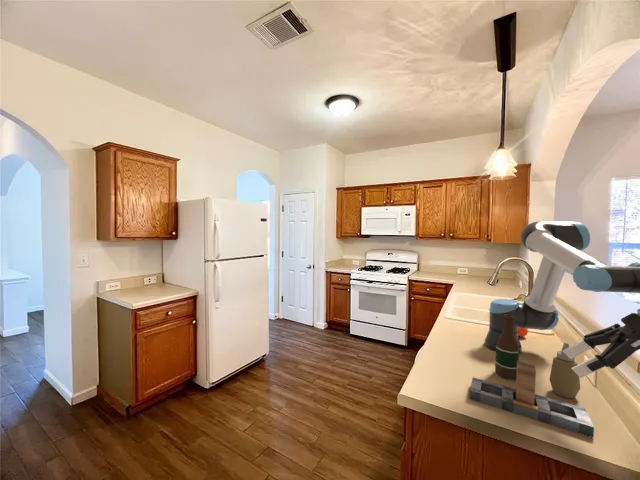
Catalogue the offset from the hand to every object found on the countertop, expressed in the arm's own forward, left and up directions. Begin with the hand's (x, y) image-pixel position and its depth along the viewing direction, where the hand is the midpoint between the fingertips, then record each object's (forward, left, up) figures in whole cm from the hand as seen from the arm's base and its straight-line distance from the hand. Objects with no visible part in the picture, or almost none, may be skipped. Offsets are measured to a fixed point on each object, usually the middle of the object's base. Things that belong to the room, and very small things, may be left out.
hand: (570, 363), depth 81 cm
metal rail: (+9, -6, -18) cm, 20 cm away
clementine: (-35, -67, -18) cm, 78 cm away
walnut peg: (+9, -6, -18) cm, 20 cm away
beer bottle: (+1, -26, -18) cm, 31 cm away
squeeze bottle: (-11, -14, -18) cm, 25 cm away
